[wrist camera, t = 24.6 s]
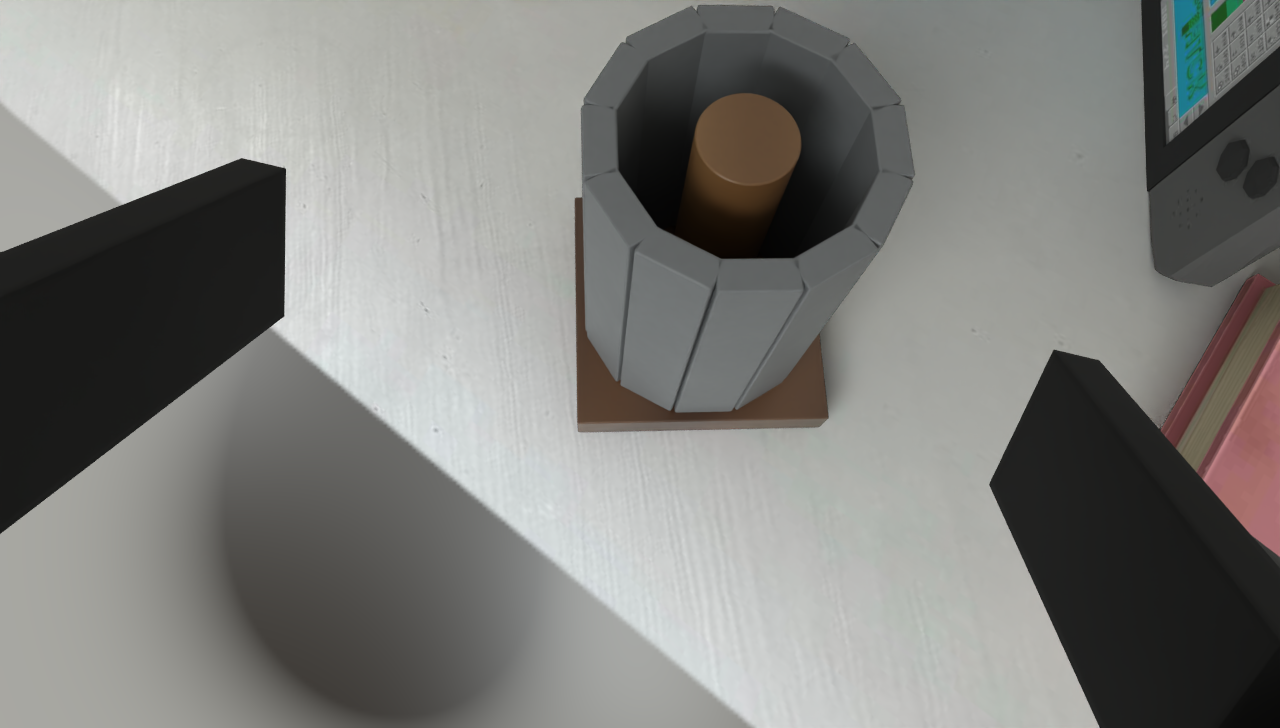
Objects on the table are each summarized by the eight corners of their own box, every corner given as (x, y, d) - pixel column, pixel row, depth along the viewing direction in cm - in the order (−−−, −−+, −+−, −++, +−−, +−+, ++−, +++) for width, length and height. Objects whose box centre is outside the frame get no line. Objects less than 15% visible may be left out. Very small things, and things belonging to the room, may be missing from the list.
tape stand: (577, 432, 34) (569, 306, 21) (575, 213, 37) (566, -11, 24) (819, 427, 35) (951, 302, 22) (796, 212, 38) (901, -7, 25)
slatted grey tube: (543, 345, 34) (518, 194, 22) (649, 171, 36) (676, -43, 25) (748, 453, 33) (832, 352, 21) (841, 266, 35) (959, 88, 24)
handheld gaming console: (1130, -97, 45) (1274, -294, 35) (1180, -88, 45) (1338, -283, 35) (1141, 289, 38) (1326, 170, 28) (1201, 299, 38) (1407, 184, 28)
